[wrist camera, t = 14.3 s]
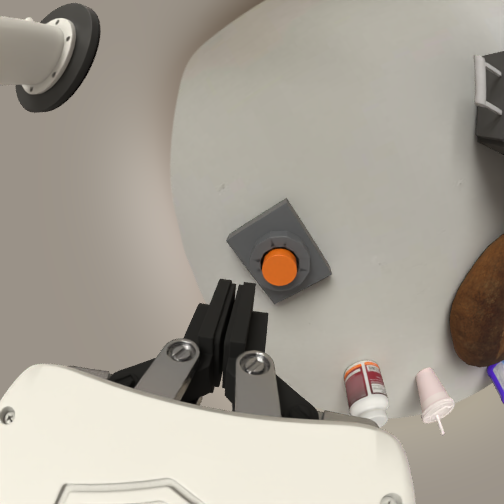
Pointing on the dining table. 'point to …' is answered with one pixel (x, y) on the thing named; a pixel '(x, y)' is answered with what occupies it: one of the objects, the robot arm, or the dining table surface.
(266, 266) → the button
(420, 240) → the dining table surface
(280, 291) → the control block
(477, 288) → the bread
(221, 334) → the robot arm
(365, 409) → the pill bottle
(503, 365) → the bottle
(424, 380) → the smoothie
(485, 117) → the fryer drawer
